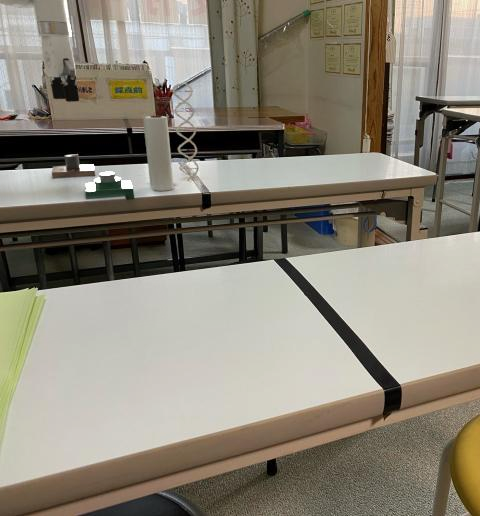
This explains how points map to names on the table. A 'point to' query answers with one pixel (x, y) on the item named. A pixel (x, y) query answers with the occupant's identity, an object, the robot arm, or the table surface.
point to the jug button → (107, 176)
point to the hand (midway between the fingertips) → (66, 100)
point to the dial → (72, 161)
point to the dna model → (188, 130)
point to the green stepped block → (109, 189)
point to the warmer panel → (73, 171)
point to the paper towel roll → (158, 152)
